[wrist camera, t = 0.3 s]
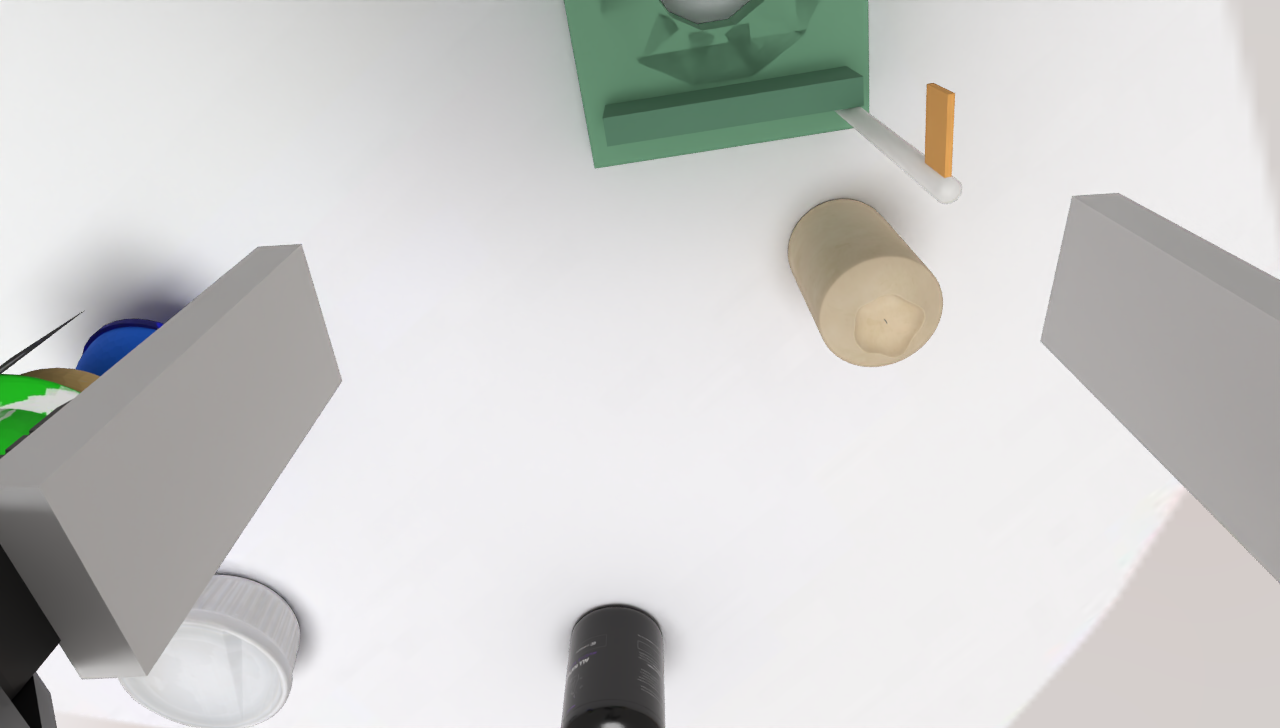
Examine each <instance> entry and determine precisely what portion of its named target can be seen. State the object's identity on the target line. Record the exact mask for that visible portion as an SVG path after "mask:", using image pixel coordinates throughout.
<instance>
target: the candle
mask: <svg viewBox="0 0 1280 728" xmlns="http://www.w3.org/2000/svg"><path fill="white" fill-rule="evenodd" d="M788 258H789V264H790V268H791V270H792V273H793V275H794V277H795V280H796V282H797V284H798V286H799V288H800V291H801V293H802V295H803V297H804V299H805V301H806V304H807V306H808V308H809V310H810V312H811V314H812V317H813V319H814V321H815V323H816V325H817V327H818V330H819V332H820V334H821V336H822V338H823V340H824V342H825V344H826V345H827V347H828V348H829V349H830V350H831V351H832V352H833V353H834V354H835V355H836V356H837V357H839V358H841V359H842V360H844V361H846V362H848V363H851V364H854V365H858V366H864V367H879V366H885V365H889V364H893V363H896V362H898V361H901V360H903V359H905V358H907V357H909V356H910V355H912V354H913V353H915V352H916V351H918V350H919V349H920V348H921V347H922V346H923V345H924V344H925V343H926V342H927V341H928V340H929V339H930V337H931V336H932V335H933V333H934V331H935V330H936V328H937V326H938V323H939V321H940V318H941V314H942V308H943V297H942V291H941V288H940V285H939V283H938V281H937V279H936V278H935V276H934V275H933V274H932V272H931V271H930V270H929V269H928V268H927V267H926V266H925V264H924V263H923V262H922V261H921V260H920V259H919V258H918V256H917V255H916V254H915V253H914V252H913V251H912V250H911V249H910V247H909V246H908V245H907V244H906V243H905V242H904V241H903V239H902V238H901V237H900V236H899V235H898V234H897V233H896V232H895V230H894V229H893V228H892V227H891V226H890V225H889V224H888V222H887V221H886V220H885V219H884V218H883V217H882V216H881V215H880V214H879V213H878V212H877V211H876V210H875V209H873V208H872V207H870V206H868V205H867V204H865V203H862V202H859V201H856V200H851V199H837V200H832V201H828V202H825V203H822V204H820V205H818V206H816V207H815V208H813V209H812V210H810V211H809V212H808V213H806V214H805V215H804V216H803V217H802V218H801V220H800V221H799V222H798V223H797V225H796V227H795V228H794V230H793V232H792V234H791V237H790V241H789V246H788Z"/></svg>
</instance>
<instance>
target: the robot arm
mask: <svg viewBox="0 0 1280 728" xmlns="http://www.w3.org/2000/svg"><path fill="white" fill-rule="evenodd" d="M1041 342H1042V343H1043V344H1044V345H1045V346H1046V347H1047V348H1048V349H1049V350H1050V352H1051V353H1052V354H1053V355H1054V356H1055V357H1056V358H1057V359H1058V360H1059V361H1060V362H1061V363H1062V364H1063V365H1064V366H1065V367H1066V368H1067V369H1068V370H1069V371H1070V372H1071V373H1072V374H1073V375H1074V376H1075V377H1076V378H1077V379H1078V380H1079V381H1080V382H1081V383H1082V384H1083V385H1084V386H1085V387H1086V388H1087V389H1088V390H1089V391H1090V392H1091V393H1092V394H1093V395H1094V396H1095V397H1096V398H1097V399H1098V400H1099V401H1100V402H1101V403H1102V404H1103V405H1104V406H1105V407H1106V408H1107V409H1108V410H1109V411H1110V412H1111V413H1112V414H1113V415H1114V416H1115V417H1116V418H1117V419H1118V420H1119V421H1120V422H1121V423H1122V424H1123V425H1124V426H1125V427H1126V428H1127V429H1128V430H1129V431H1130V432H1131V433H1132V435H1133V436H1134V437H1135V438H1136V439H1137V440H1138V441H1139V442H1140V443H1141V444H1142V445H1143V446H1144V447H1145V448H1146V449H1147V450H1148V451H1149V452H1150V453H1151V454H1152V455H1153V456H1154V457H1155V458H1156V459H1157V460H1158V461H1159V462H1160V463H1161V464H1162V465H1163V466H1164V467H1165V468H1166V469H1167V470H1168V471H1169V472H1170V473H1171V474H1172V475H1173V476H1174V477H1175V478H1176V479H1177V480H1178V481H1179V482H1180V483H1181V484H1182V485H1183V486H1184V487H1185V488H1186V489H1187V490H1188V491H1189V492H1190V493H1191V494H1192V495H1193V496H1194V497H1195V498H1196V499H1197V500H1198V501H1199V502H1200V503H1201V504H1202V505H1203V506H1204V507H1205V508H1206V509H1207V510H1208V511H1209V512H1210V513H1211V514H1212V515H1213V516H1214V517H1215V519H1217V520H1218V522H1219V523H1220V524H1222V526H1223V527H1224V528H1226V529H1227V531H1228V532H1229V533H1230V534H1231V535H1232V536H1233V537H1234V538H1235V539H1236V540H1237V541H1238V542H1239V543H1240V544H1241V545H1242V546H1243V547H1244V548H1245V549H1246V550H1247V551H1248V552H1249V553H1250V554H1251V555H1252V556H1253V557H1254V558H1255V559H1256V560H1257V561H1258V562H1259V563H1260V564H1261V565H1262V566H1263V567H1264V568H1265V569H1266V570H1267V571H1268V572H1269V573H1270V574H1271V575H1272V576H1273V577H1274V578H1275V579H1276V580H1277V581H1278V582H1279V583H1280V280H1279V279H1277V278H1275V277H1273V276H1271V275H1269V274H1268V273H1266V272H1264V271H1262V270H1260V269H1258V268H1256V267H1255V266H1253V265H1251V264H1249V263H1247V262H1245V261H1244V260H1242V259H1240V258H1238V257H1236V256H1234V255H1232V254H1231V253H1229V252H1227V251H1225V250H1223V249H1221V248H1219V247H1218V246H1216V245H1214V244H1212V243H1210V242H1208V241H1206V240H1205V239H1203V238H1201V237H1199V236H1197V235H1195V234H1193V233H1192V232H1190V231H1188V230H1186V229H1184V228H1182V227H1180V226H1179V225H1177V224H1175V223H1173V222H1171V221H1169V220H1167V219H1166V218H1164V217H1162V216H1160V215H1158V214H1156V213H1155V212H1153V211H1151V210H1149V209H1147V208H1145V207H1143V206H1142V205H1140V204H1138V203H1136V202H1134V201H1132V200H1130V199H1129V198H1127V197H1125V196H1123V195H1121V194H1119V193H1112V194H1096V195H1080V196H1072V199H1071V204H1070V208H1069V213H1068V217H1067V222H1066V226H1065V231H1064V236H1063V240H1062V245H1061V249H1060V254H1059V258H1058V263H1057V268H1056V272H1055V277H1054V281H1053V286H1052V290H1051V295H1050V300H1049V304H1048V309H1047V313H1046V318H1045V322H1044V327H1043V332H1042V336H1041ZM341 382H342V379H341V375H340V372H339V369H338V365H337V362H336V358H335V355H334V352H333V348H332V345H331V342H330V338H329V335H328V332H327V328H326V325H325V321H324V318H323V315H322V311H321V308H320V305H319V301H318V298H317V295H316V291H315V288H314V284H313V281H312V278H311V274H310V271H309V268H308V264H307V261H306V258H305V254H304V251H303V247H302V244H294V245H278V246H262V247H257V248H256V249H255V250H253V251H252V252H251V253H250V254H249V255H247V256H246V257H245V258H244V259H242V260H241V261H240V262H239V263H238V264H236V265H235V266H234V267H233V268H232V269H230V270H229V271H228V272H227V273H225V274H224V275H223V276H222V277H221V278H219V279H218V280H217V281H216V282H215V283H213V284H212V285H211V286H210V287H208V288H207V289H206V290H205V291H204V292H202V293H201V294H200V295H199V296H198V297H196V298H195V299H194V300H193V301H191V302H190V303H189V304H188V305H187V306H185V307H184V308H183V309H182V310H181V311H179V312H178V313H177V314H176V315H174V316H173V317H172V318H171V319H170V320H168V321H167V322H166V323H165V324H164V325H162V326H161V327H160V328H159V329H157V330H156V331H155V332H154V333H153V334H151V335H150V336H149V337H148V338H147V339H145V340H144V341H143V342H142V343H141V344H139V345H138V346H137V347H136V348H134V349H133V350H132V351H131V352H130V353H128V354H127V355H126V356H125V357H124V358H122V359H121V360H120V361H119V362H117V363H116V364H115V365H114V366H113V367H111V368H110V369H109V370H108V371H107V372H105V373H104V374H103V375H102V376H100V377H99V378H98V379H97V380H96V381H94V382H93V383H92V384H91V385H90V386H88V387H87V388H86V389H85V390H83V391H82V392H81V393H80V394H79V395H77V396H76V397H75V398H74V399H72V400H70V401H68V402H66V403H64V404H63V405H61V406H59V407H57V408H56V409H55V410H53V411H52V412H51V413H50V414H48V415H47V416H46V417H45V418H43V419H42V420H41V421H40V422H39V423H37V424H36V425H35V426H34V427H32V428H31V429H30V430H29V435H23V436H21V437H20V438H19V439H18V440H17V441H15V442H14V443H13V444H12V445H10V446H9V447H8V448H7V449H5V455H0V728H57V726H56V721H55V715H54V710H53V704H52V699H51V694H50V692H49V691H48V689H47V688H46V686H45V685H44V683H43V682H42V680H41V679H40V677H39V676H38V674H37V673H36V671H37V670H38V668H39V667H40V666H41V665H42V663H43V662H44V661H45V660H46V659H47V657H48V656H49V655H50V654H51V652H52V651H53V650H54V649H55V647H56V646H57V645H58V644H60V646H61V647H62V649H63V651H64V652H65V654H66V655H67V657H68V659H69V660H70V662H71V663H72V665H73V666H74V668H75V670H76V671H77V673H78V674H79V676H80V677H81V679H102V678H124V677H146V676H148V674H149V673H150V671H151V670H152V668H153V667H154V665H155V664H156V662H157V661H158V659H159V657H160V656H161V654H162V653H163V651H164V650H165V648H166V647H167V645H168V644H169V642H170V641H171V639H172V638H173V636H174V635H175V633H176V632H177V630H178V629H179V627H180V626H181V624H182V623H183V621H184V620H185V618H186V617H187V615H188V614H189V612H190V611H191V609H192V608H193V606H194V605H195V603H196V602H197V600H198V598H199V597H200V595H201V594H202V592H203V591H204V589H205V588H206V586H207V585H208V583H209V582H210V580H211V579H212V577H213V576H214V574H215V573H216V571H217V570H218V568H219V567H220V565H221V564H222V562H223V561H224V559H225V558H226V556H227V555H228V553H229V552H230V550H231V549H232V547H233V546H234V544H235V542H236V541H237V539H238V538H239V536H240V535H241V533H242V532H243V530H244V529H245V527H246V526H247V524H248V523H249V521H250V520H251V518H252V517H253V515H254V514H255V512H256V511H257V509H258V508H259V506H260V505H261V503H262V502H263V500H264V499H265V497H266V496H267V494H268V493H269V491H270V490H271V488H272V487H273V485H274V483H275V482H276V480H277V479H278V477H279V476H280V474H281V473H282V471H283V470H284V468H285V467H286V465H287V464H288V462H289V461H290V459H291V458H292V456H293V455H294V453H295V452H296V450H297V449H298V447H299V446H300V444H301V443H302V441H303V440H304V438H305V437H306V435H307V434H308V432H309V431H310V429H311V427H312V426H313V424H314V423H315V421H316V420H317V418H318V417H319V415H320V414H321V412H322V411H323V409H324V408H325V406H326V405H327V403H328V402H329V400H330V399H331V397H332V396H333V394H334V393H335V391H336V390H337V388H338V387H339V385H340V384H341Z"/></svg>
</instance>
